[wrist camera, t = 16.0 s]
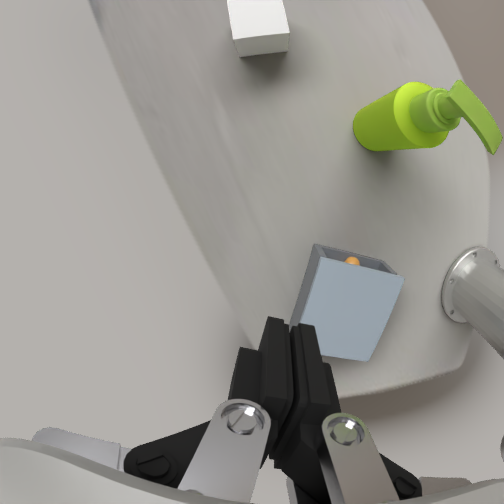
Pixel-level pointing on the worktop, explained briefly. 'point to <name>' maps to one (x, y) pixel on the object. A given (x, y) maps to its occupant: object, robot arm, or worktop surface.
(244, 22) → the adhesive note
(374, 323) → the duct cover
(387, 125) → the soap dispenser
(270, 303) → the worktop surface
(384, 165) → the worktop surface
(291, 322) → the cable duct
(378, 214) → the worktop surface
